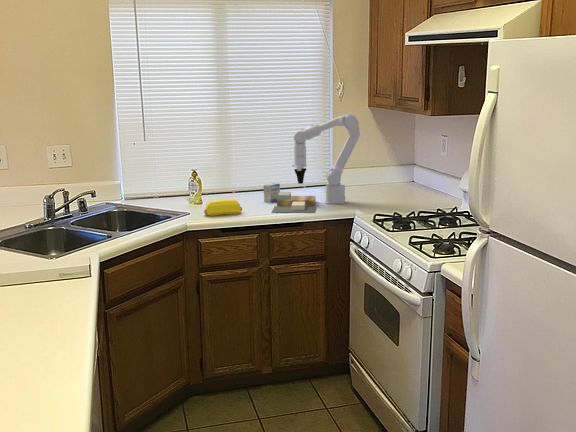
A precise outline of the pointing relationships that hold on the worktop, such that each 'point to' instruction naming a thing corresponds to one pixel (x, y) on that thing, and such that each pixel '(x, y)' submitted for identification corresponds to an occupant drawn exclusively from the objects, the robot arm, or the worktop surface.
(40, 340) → the worktop surface
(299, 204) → the ivory card
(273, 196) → the medicine box
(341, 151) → the robot arm
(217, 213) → the banana
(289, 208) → the mat
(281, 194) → the slate card
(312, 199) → the deck
